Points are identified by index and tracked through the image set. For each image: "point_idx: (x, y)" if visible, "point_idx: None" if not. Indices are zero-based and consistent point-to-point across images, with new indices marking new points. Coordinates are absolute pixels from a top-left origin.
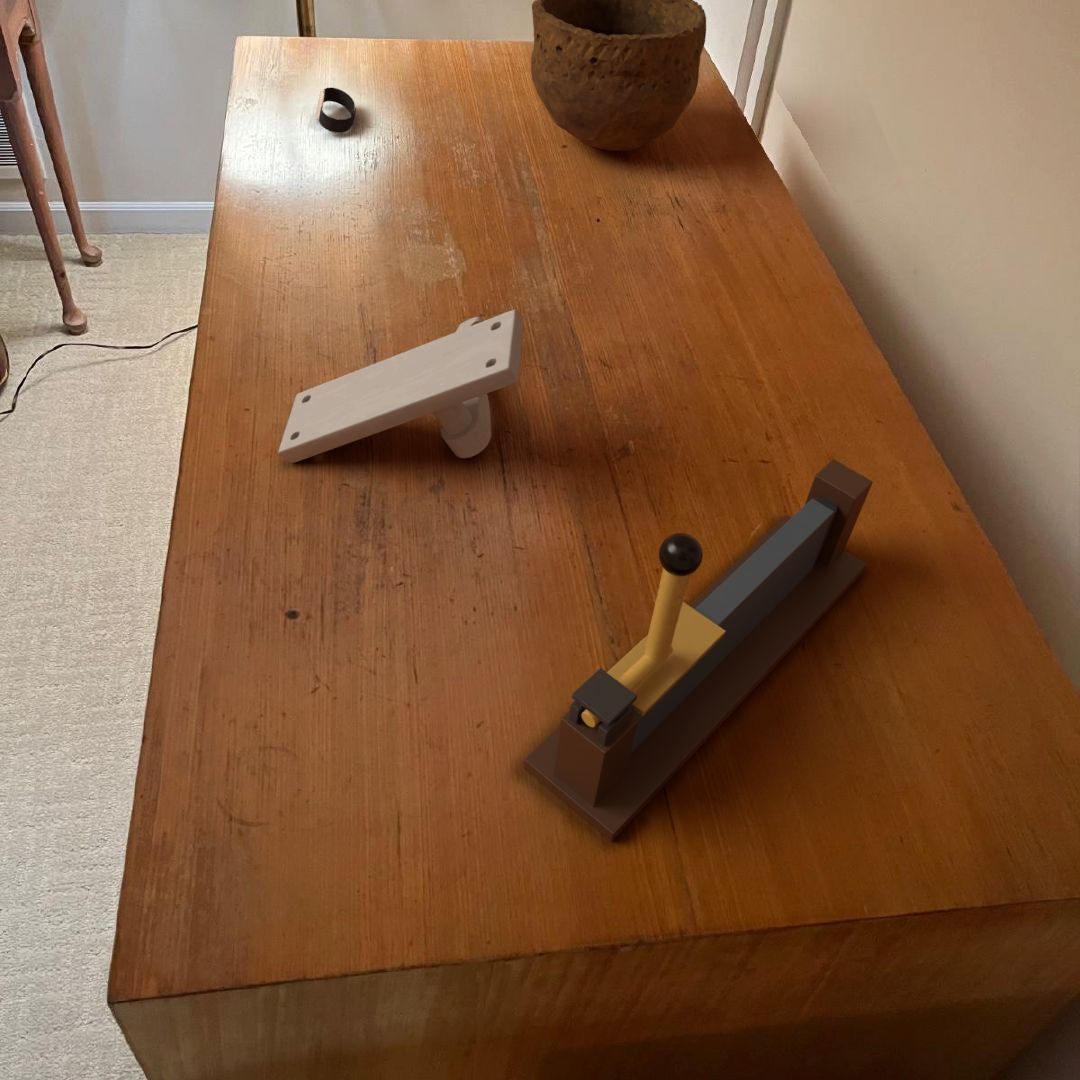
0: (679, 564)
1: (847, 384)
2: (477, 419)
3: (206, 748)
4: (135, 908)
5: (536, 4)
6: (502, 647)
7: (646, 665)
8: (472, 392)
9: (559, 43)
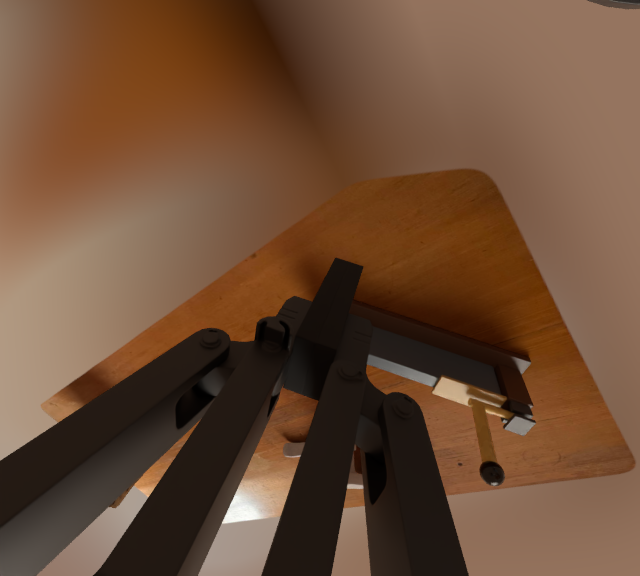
0: (504, 477)
1: (206, 314)
2: None
3: (531, 472)
4: (605, 474)
5: (112, 507)
6: (444, 407)
7: (489, 410)
8: (356, 477)
9: (125, 492)
